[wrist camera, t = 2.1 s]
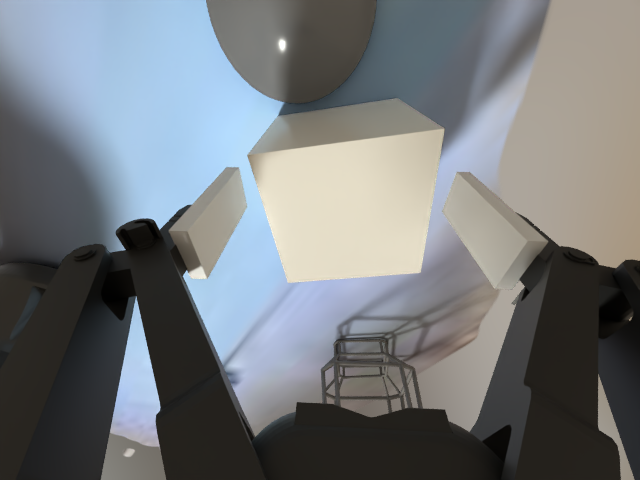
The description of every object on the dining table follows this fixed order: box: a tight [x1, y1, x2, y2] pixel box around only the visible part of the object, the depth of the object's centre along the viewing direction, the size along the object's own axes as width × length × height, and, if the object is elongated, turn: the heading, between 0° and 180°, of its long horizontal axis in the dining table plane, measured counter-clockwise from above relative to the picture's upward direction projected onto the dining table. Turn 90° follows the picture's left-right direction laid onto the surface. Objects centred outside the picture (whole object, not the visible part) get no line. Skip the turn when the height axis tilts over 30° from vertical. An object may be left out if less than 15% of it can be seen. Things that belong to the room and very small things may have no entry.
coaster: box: [206, 0, 377, 103], centre depth 15 cm, size 10×10×1 cm
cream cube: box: [247, 98, 445, 283], centre depth 17 cm, size 9×9×9 cm
